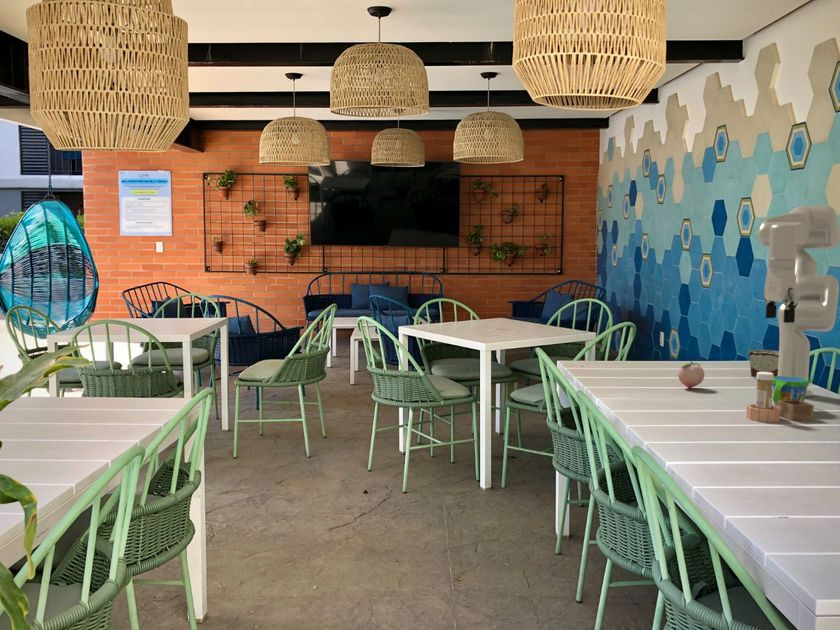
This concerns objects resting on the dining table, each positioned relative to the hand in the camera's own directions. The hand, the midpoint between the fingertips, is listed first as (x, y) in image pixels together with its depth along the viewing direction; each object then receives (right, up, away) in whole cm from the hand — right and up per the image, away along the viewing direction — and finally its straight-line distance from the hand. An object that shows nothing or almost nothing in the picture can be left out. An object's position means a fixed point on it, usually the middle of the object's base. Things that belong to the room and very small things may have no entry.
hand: (779, 320), depth 251 cm
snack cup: (+3, -28, +1) cm, 28 cm away
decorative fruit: (-15, -25, +36) cm, 46 cm away
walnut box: (0, -29, -11) cm, 31 cm away
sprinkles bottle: (-10, -29, -12) cm, 33 cm away
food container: (+22, -22, +62) cm, 69 cm away
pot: (-10, -29, -12) cm, 33 cm away
